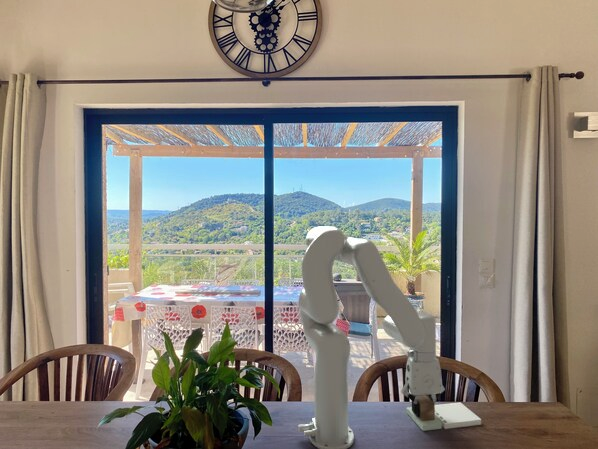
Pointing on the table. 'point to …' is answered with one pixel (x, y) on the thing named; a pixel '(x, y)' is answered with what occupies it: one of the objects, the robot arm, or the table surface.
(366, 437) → the table surface
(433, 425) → the stub
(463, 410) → the white flat slab
